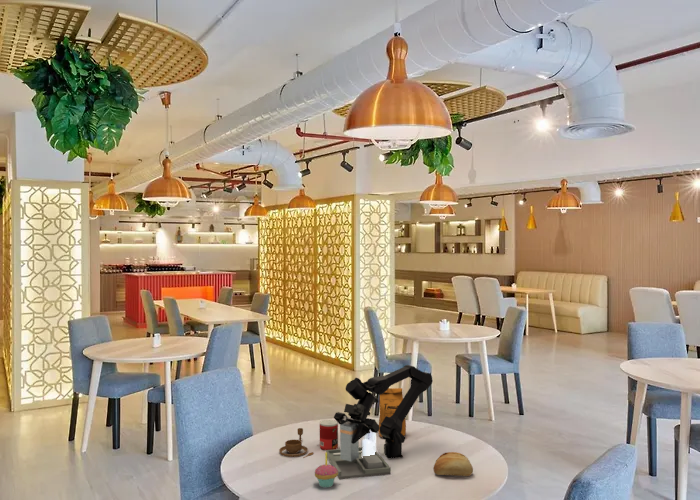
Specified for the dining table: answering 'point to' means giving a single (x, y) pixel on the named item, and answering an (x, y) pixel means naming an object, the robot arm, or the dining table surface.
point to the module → (348, 441)
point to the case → (358, 465)
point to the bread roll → (453, 465)
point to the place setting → (294, 447)
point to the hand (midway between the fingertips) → (347, 441)
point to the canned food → (328, 434)
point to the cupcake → (326, 474)
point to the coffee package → (390, 405)
